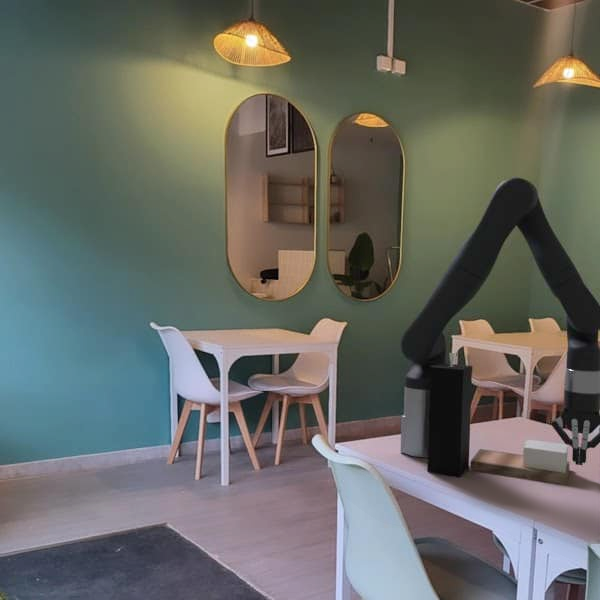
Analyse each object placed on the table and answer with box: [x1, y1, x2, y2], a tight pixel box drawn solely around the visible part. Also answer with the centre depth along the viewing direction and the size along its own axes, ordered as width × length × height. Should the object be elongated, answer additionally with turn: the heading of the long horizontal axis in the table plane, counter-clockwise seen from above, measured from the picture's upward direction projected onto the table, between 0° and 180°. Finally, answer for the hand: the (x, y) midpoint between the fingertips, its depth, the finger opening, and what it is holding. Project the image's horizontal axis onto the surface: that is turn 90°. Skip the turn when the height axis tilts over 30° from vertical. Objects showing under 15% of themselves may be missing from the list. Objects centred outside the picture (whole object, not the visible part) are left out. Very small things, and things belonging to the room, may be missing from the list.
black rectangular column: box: [426, 352, 473, 478], centre depth 140 cm, size 8×8×28 cm
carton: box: [522, 439, 569, 473], centre depth 139 cm, size 9×8×4 cm
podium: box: [470, 448, 570, 486], centre depth 142 cm, size 21×12×2 cm, turn 63°
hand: (579, 464), depth 136 cm, fingers closed
